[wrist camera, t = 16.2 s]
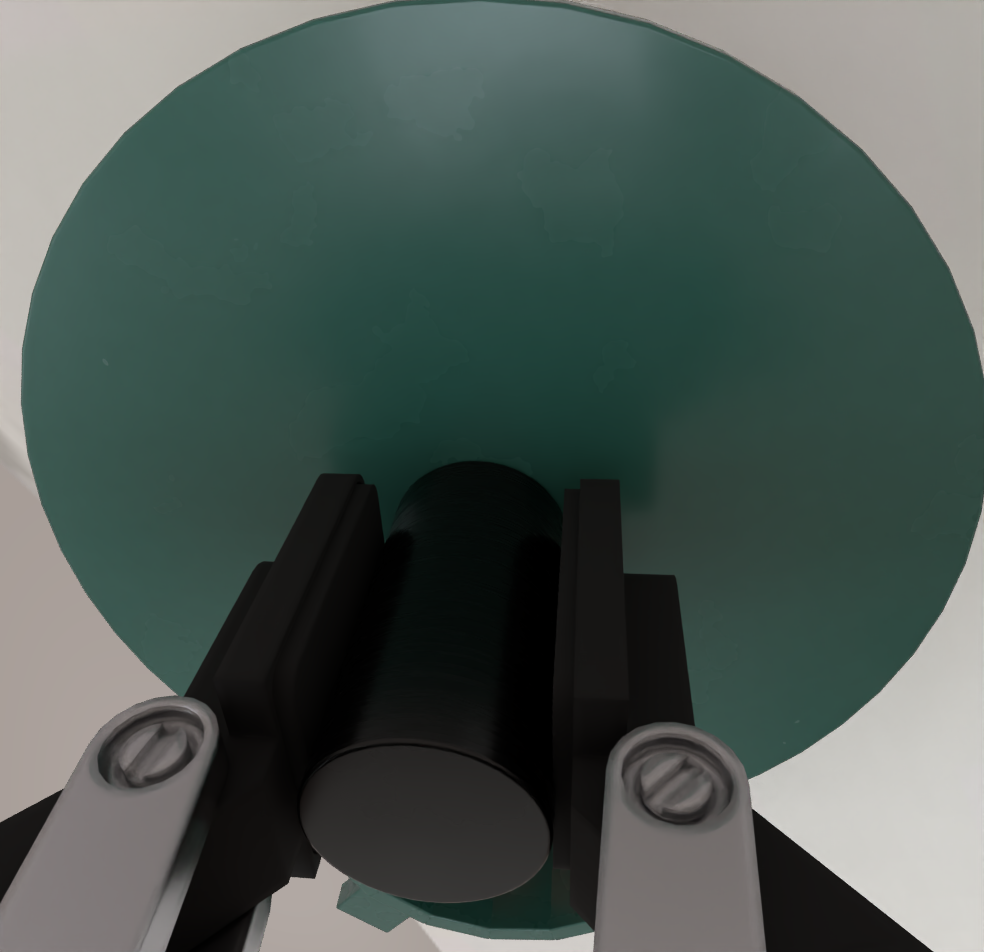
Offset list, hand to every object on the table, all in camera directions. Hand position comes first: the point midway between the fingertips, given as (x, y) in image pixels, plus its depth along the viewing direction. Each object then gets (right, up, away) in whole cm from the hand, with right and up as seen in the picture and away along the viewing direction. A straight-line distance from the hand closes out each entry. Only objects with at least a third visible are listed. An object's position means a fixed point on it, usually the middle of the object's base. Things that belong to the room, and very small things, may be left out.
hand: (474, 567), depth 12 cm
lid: (0, +1, +1) cm, 1 cm away
